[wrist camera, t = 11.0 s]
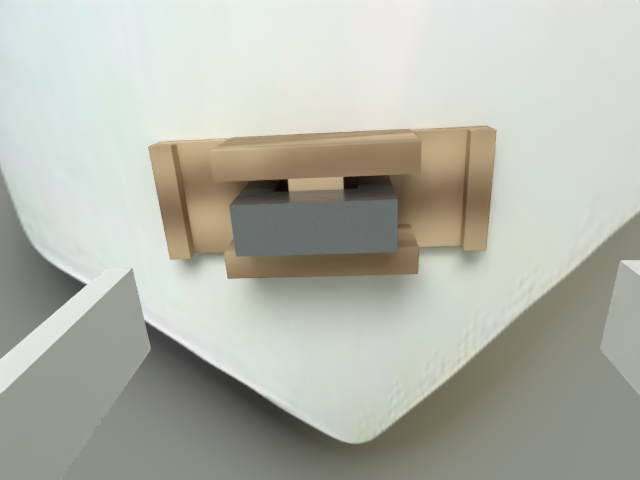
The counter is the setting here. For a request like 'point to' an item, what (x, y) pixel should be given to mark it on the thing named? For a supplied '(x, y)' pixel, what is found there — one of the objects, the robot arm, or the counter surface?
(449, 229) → the rail
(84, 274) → the counter surface
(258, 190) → the clip
